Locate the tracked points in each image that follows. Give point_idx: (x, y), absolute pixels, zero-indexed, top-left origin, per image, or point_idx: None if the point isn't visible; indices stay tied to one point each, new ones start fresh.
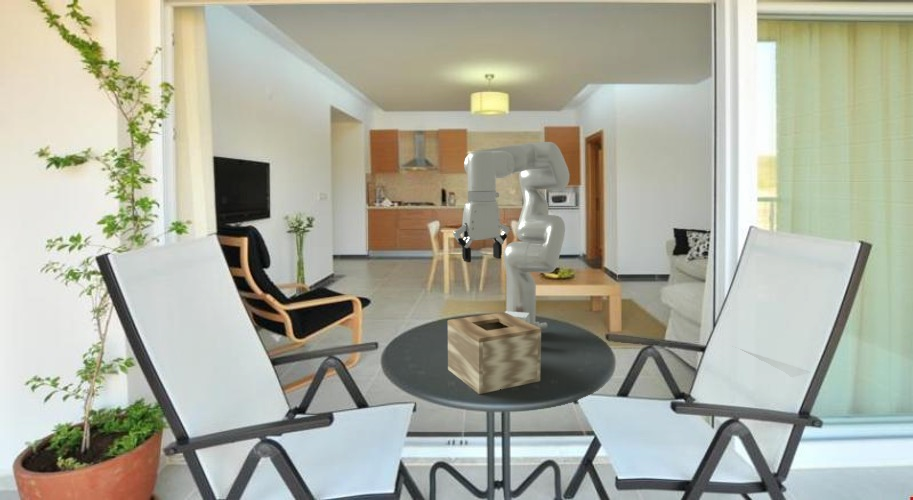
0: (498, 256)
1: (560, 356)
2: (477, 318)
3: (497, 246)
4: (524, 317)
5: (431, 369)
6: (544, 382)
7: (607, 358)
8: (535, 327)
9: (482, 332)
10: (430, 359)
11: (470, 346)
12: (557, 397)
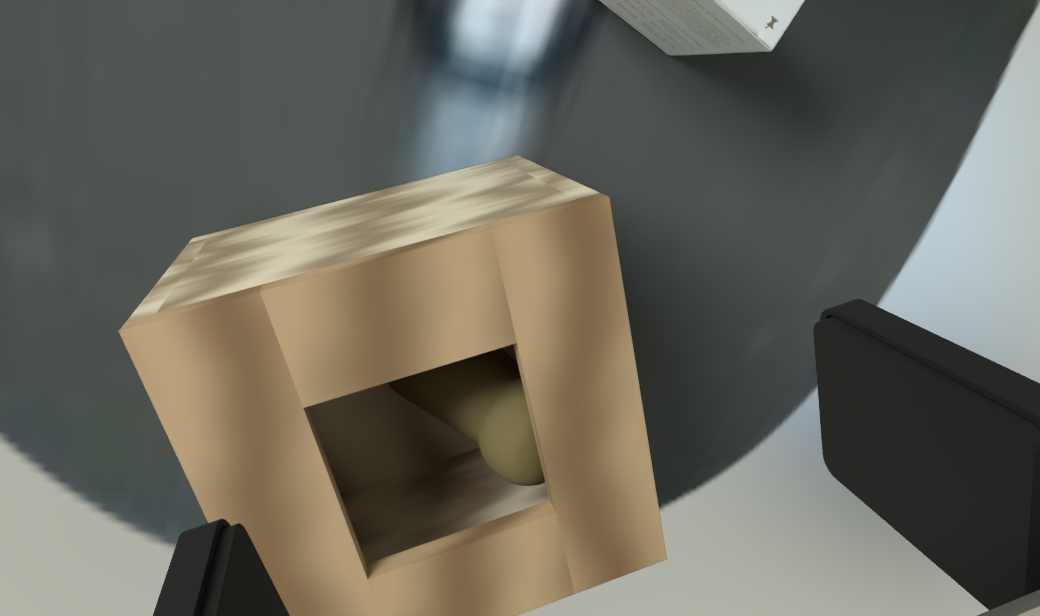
0: (845, 474)
1: (771, 180)
2: (369, 324)
3: (990, 573)
4: (763, 42)
5: (94, 218)
6: None
7: (917, 244)
8: (649, 539)
9: (334, 606)
10: (89, 54)
11: None
12: None
